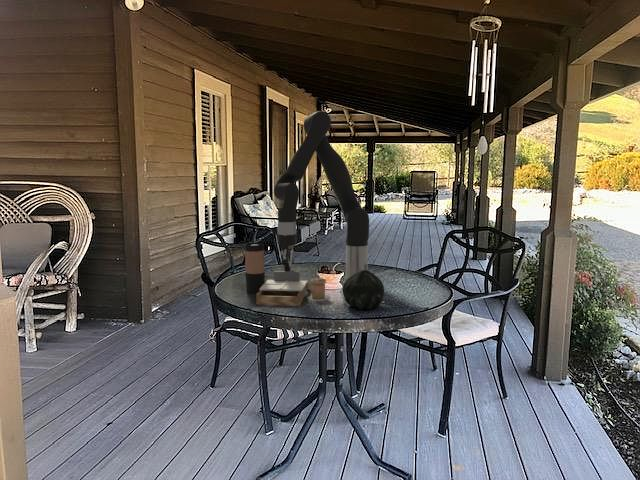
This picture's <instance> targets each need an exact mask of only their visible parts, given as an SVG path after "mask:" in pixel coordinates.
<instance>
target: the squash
mask: <svg viewBox="0 0 640 480" xmlns="http://www.w3.org/2000/svg"><path fill="white" fill-rule="evenodd" d="M384 286H385V285H384V283H383V282H382V281H381V279H380V278H379V277H378V276H377V275H376V274H374V273H373V272H371V271H369V270H368V271H367V270H361V271H359V272H357V273H355V274H353V275H352V276H351V277H349V278H348V279H347V280H346V279H345V282H344V283H343V285H342V295H343V297H344V300H345V302H346V304H347V305H349V306H350V307H351V306H352V307H353V308H358V310H360V311H363V310H364V309H365V310H371V309H375V308H376V309H377V308H378V307H379V306H380V305H381V303H382V301H383V300H384V299H383V298H384V295H385V294H384V293H385V288H384Z"/></svg>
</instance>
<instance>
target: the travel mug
mask: <svg viewBox="0 0 640 480" xmlns="http://www.w3.org/2000/svg"><path fill="white" fill-rule="evenodd" d="M244 260H245V261H244V262H245V267H244V269H245V270H244V271H245V288H246V293H249V294H257V293H258V292H259V291H260V288H261V287H262V285H263V284H264V283H265V282H266V281H265V279H266V276H265V274H266V273H265V271H266V270H265V244H264V243H262V242H247V243H245V244H244Z"/></svg>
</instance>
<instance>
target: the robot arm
mask: <svg viewBox="0 0 640 480" xmlns="http://www.w3.org/2000/svg"><path fill="white" fill-rule="evenodd" d="M331 127H332V119H331V117H330V115H329V114H328V112H326V111H324V110H318V111H315V112H313V113H311V114H309V115H307V117H305V118H304V120H303V130H304V132H305V134H306V136H305V138H304V139H303V141H302V143H301V144H300V146H299V147H298V148H297V150H295V153H294V154H293V156H292V157H291V160H290V162H289V164H288V166H287V169H285V172H284V173H283V174H282V175H281V176H280V177H279V179H278V180H277V181H276V183H275V185H274V189H273V194H274V197H275V198H276V199H277V200H279V201H283V205H282V206H279V207H278V209H277V227H276V228H277V245H278V246H282V249H281V255H280V257H281V262H282V266H283V268H284V269H283V271H292V270H291V266H292V263H293V254H294V249H293V248H292V246H295V245H297V221H296V219H297V218H296V215H297V214H296V210H297V206H298V202H299V198H300V189H299V187H298V185H297V184H296V183H297V182H300V181H301V180H302V179H303V177H304V175H305V173H306V171H307V169H308V166H309V165H310V162H311V160H312V158H313V156H314V154H315V152H316V155H317V158H318V160H319V162H320V164H321V166H322V168H323V172H324V174H325V176H326V178H327V181H328V182H329V185H330V187H331V189H332V191H333V193H334V194H335V196H336V197H337V200H338V202H339V204H340V207H341V210H342V214H343V217H344V220H345V222H346V226H347V227H346V239H345V281H346V280H347V279H348V278H349V277H351V276H352V275H353V274H355V273H357V272H359V271H361V270H367V271H369V270H368V264H369V263H368V248H369V245H368V243H369V242H368V241H369V239H370V238H369V237H370V235H369V234H370V217H369V213H368V212H367V211H366V210H365V209H364V208H363V207H362V206H361V204H360V203H359V201H358V198H357V196H356V193H355V190H354V186H353V182H352V177H351V175H350V172H349V169H348V167H347V165H346V163H345V161H344V159H343V158H342V156H341V155H340V154H339V153H338V151H336V150H335V148H334V147H333V146H332V144H331V143H330V141H329V139H328V137H327V133H328V132H329V130H330V128H331Z"/></svg>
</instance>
